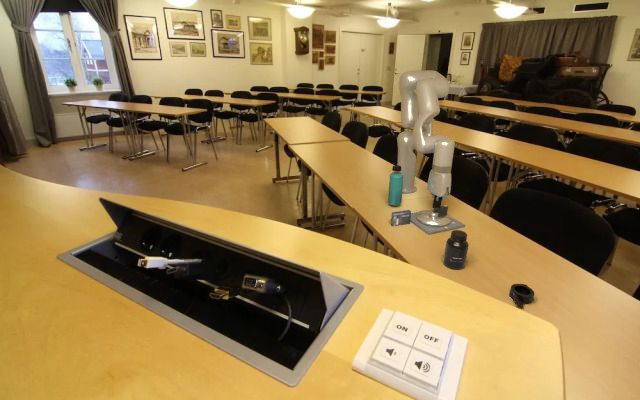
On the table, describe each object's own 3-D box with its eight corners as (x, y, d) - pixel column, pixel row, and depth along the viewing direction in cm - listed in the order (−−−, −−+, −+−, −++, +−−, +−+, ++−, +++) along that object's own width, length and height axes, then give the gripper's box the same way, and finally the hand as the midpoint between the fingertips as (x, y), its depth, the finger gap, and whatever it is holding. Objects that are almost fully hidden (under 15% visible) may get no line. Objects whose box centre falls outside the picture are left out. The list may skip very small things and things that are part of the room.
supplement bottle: (453, 272, 104) (459, 240, 99) (438, 261, 110) (443, 230, 105) (469, 267, 107) (475, 235, 102) (453, 257, 112) (458, 226, 108)
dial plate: (403, 216, 143) (403, 214, 142) (436, 210, 148) (436, 208, 148) (428, 234, 127) (428, 232, 127) (464, 227, 133) (465, 224, 132)
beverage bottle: (401, 209, 151) (405, 168, 143) (387, 208, 152) (389, 167, 144) (401, 203, 156) (404, 164, 149) (387, 202, 158) (389, 163, 150)
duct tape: (496, 294, 94) (498, 286, 93) (521, 286, 97) (523, 278, 96) (519, 311, 88) (521, 303, 86) (545, 302, 91) (548, 294, 90)
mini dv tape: (392, 226, 135) (393, 213, 132) (390, 225, 136) (391, 212, 134) (410, 224, 136) (411, 211, 134) (408, 222, 138) (409, 209, 136)
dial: (429, 229, 129) (431, 217, 127) (409, 215, 141) (410, 204, 139) (457, 223, 133) (459, 211, 131) (435, 210, 146) (437, 199, 143)
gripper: (423, 165, 140) (419, 203, 147) (446, 174, 127) (440, 216, 134) (437, 163, 142) (432, 201, 150) (461, 172, 129) (455, 213, 136)
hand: (436, 208), depth 142 cm, fingers closed
